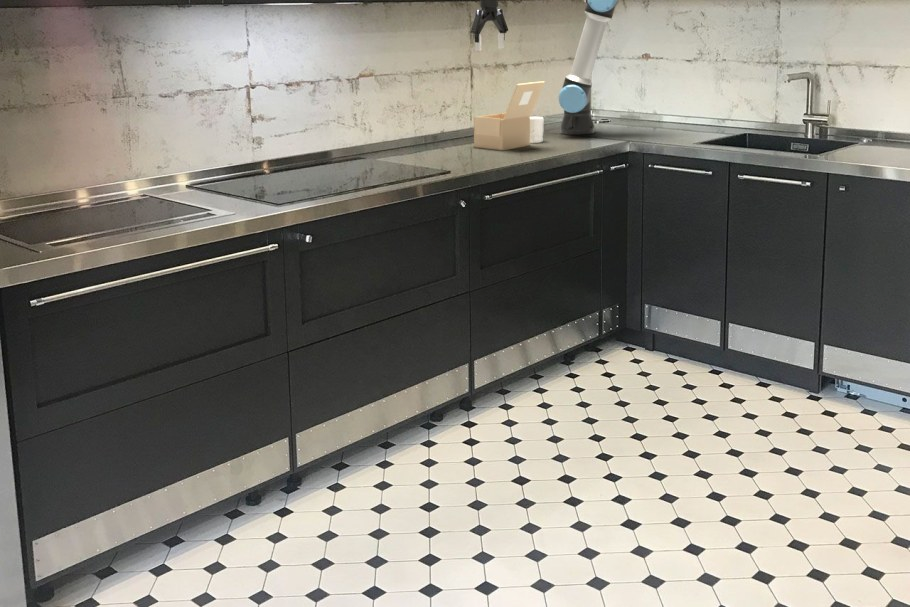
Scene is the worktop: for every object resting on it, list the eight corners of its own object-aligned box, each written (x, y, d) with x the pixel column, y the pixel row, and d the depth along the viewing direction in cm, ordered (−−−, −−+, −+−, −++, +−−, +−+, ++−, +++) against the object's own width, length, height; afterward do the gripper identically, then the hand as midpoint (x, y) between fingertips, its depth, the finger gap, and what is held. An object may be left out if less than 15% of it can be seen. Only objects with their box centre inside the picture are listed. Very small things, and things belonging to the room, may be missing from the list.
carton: (473, 147, 417) (472, 116, 413) (502, 142, 428) (501, 112, 424) (501, 150, 405) (501, 118, 402) (530, 145, 416) (530, 114, 413)
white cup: (544, 143, 423) (544, 118, 420) (525, 143, 423) (525, 119, 420) (543, 140, 430) (543, 116, 427) (524, 140, 430) (524, 116, 427)
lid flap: (516, 84, 393) (518, 85, 392) (543, 81, 403) (544, 82, 403) (503, 118, 402) (504, 119, 402) (529, 115, 412) (531, 115, 412)
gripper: (503, -3, 440) (504, 48, 447) (461, -2, 424) (462, 51, 430) (516, -4, 435) (516, 48, 441) (474, -2, 419) (475, 51, 425)
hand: (489, 49), depth 436 cm, fingers open, 13 cm apart
